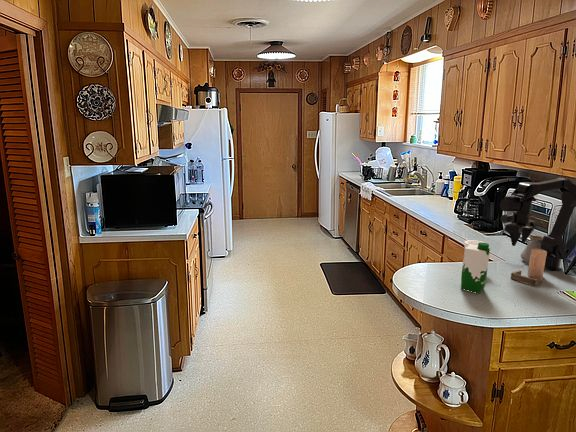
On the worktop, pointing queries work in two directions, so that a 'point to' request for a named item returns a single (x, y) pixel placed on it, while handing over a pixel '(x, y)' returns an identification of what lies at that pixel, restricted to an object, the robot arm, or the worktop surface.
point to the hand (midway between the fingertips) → (518, 244)
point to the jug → (537, 263)
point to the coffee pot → (530, 247)
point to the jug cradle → (525, 278)
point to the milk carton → (475, 267)
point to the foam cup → (472, 242)
